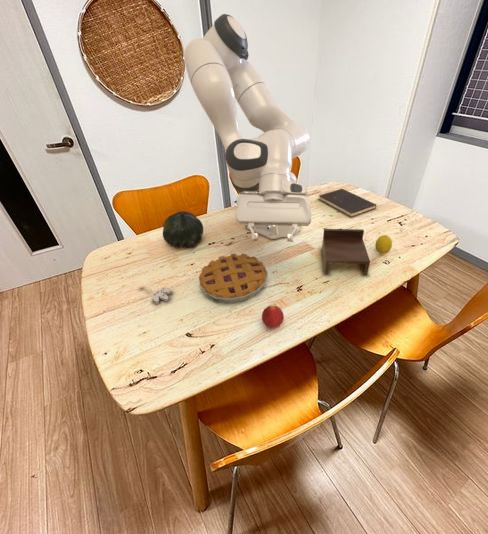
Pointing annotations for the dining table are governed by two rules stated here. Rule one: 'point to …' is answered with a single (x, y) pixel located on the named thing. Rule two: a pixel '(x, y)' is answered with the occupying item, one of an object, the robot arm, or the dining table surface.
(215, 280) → the pie
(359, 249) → the shelf
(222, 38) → the robot arm
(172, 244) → the squash
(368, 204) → the hardcover book
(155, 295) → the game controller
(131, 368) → the dining table surface
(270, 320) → the red round solid
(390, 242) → the lemon
